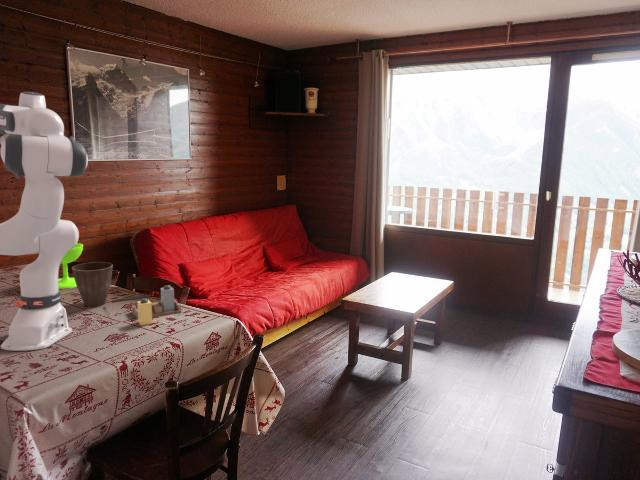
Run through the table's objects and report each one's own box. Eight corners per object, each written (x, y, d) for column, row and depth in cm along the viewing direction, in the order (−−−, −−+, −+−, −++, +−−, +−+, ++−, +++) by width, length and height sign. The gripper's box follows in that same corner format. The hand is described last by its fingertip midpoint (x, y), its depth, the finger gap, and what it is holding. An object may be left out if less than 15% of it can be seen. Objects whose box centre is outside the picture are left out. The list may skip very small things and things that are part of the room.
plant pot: (67, 309, 185) (64, 270, 182) (84, 297, 200) (82, 261, 197) (105, 310, 186) (103, 271, 183) (120, 298, 201) (118, 262, 198)
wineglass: (51, 280, 224) (48, 243, 221) (88, 278, 229) (85, 242, 226) (42, 289, 209) (39, 250, 206) (82, 287, 214) (79, 249, 211)
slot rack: (181, 315, 183) (181, 305, 182) (137, 322, 174) (136, 312, 173) (174, 308, 190) (174, 299, 190) (131, 315, 182) (131, 305, 181)
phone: (153, 299, 199) (115, 305, 190) (153, 302, 199) (116, 308, 190) (147, 294, 205) (110, 300, 196) (147, 297, 205) (110, 302, 196)
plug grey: (174, 311, 184) (173, 286, 182) (164, 313, 182) (163, 288, 180) (171, 308, 187) (170, 284, 185) (161, 310, 185) (160, 285, 183)
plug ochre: (152, 326, 171) (151, 300, 169) (140, 328, 169) (139, 301, 167) (149, 323, 174) (148, 297, 172) (138, 325, 172) (137, 298, 170)
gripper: (1, 137, 167) (2, 173, 173) (64, 138, 181) (63, 172, 187) (-3, 131, 171) (-2, 166, 177) (59, 133, 185) (58, 165, 191)
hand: (32, 169), depth 182 cm, fingers open, 8 cm apart
